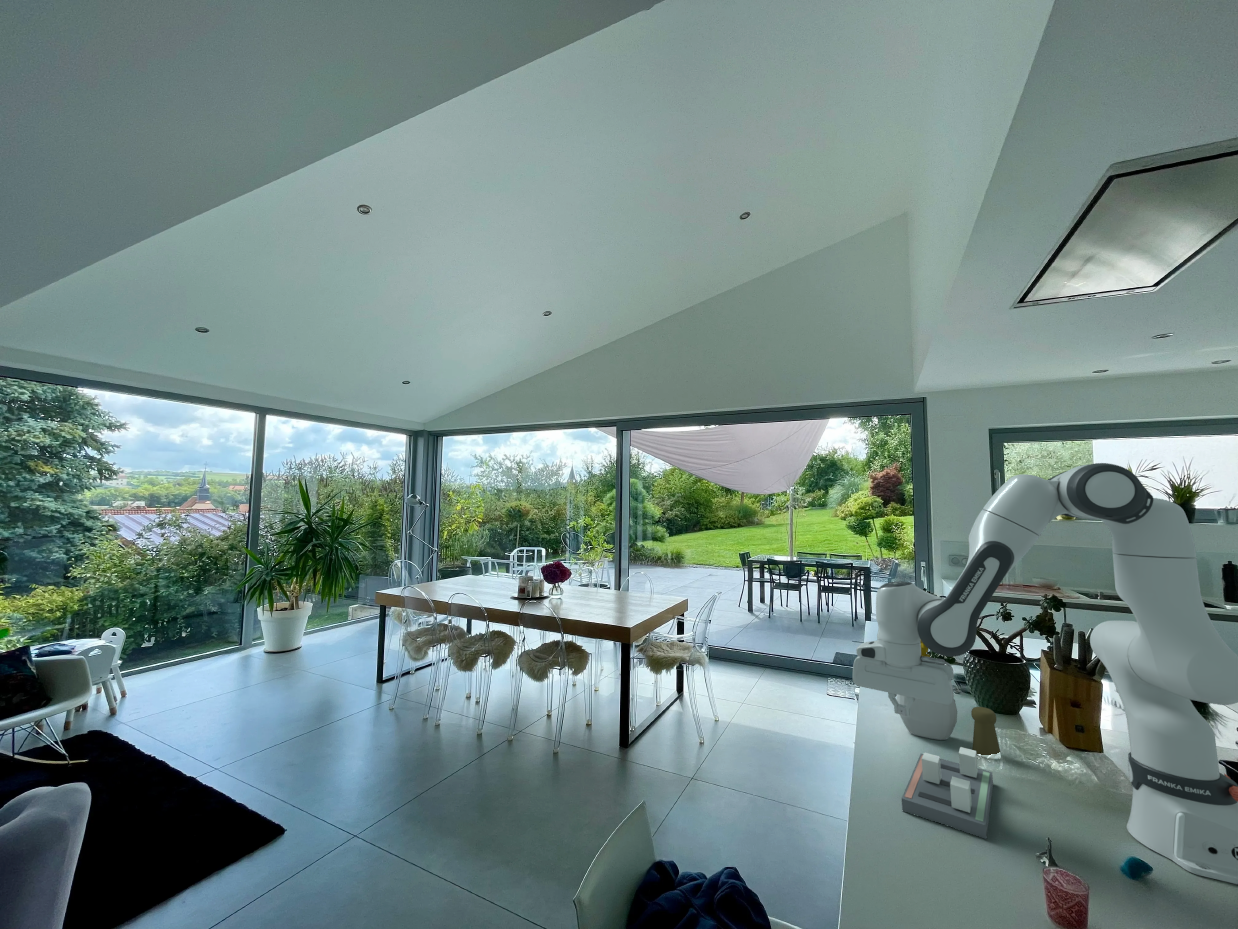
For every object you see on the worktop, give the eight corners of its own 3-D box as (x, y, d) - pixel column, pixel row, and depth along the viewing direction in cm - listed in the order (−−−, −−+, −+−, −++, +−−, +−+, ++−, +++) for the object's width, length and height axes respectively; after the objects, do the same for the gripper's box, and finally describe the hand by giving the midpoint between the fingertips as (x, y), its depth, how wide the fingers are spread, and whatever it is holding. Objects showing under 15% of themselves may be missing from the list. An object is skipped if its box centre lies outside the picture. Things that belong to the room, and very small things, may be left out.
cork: (1007, 760, 121) (1003, 714, 122) (979, 758, 122) (975, 712, 123) (993, 749, 127) (990, 704, 128) (967, 747, 128) (964, 703, 129)
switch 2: (971, 804, 99) (969, 781, 99) (970, 813, 96) (968, 789, 97) (953, 799, 101) (952, 776, 101) (951, 807, 98) (950, 784, 99)
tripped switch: (941, 777, 109) (939, 756, 109) (939, 784, 106) (937, 763, 107) (925, 772, 111) (924, 752, 111) (923, 779, 108) (921, 758, 109)
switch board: (993, 783, 111) (992, 771, 111) (986, 839, 93) (985, 824, 93) (921, 764, 120) (920, 753, 120) (902, 811, 102) (901, 797, 102)
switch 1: (977, 771, 111) (976, 750, 112) (976, 778, 108) (974, 757, 109) (961, 767, 113) (960, 747, 114) (960, 773, 110) (958, 753, 111)
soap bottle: (898, 737, 134) (891, 639, 137) (898, 724, 142) (892, 632, 144) (961, 749, 127) (953, 645, 129) (958, 735, 135) (951, 638, 137)
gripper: (954, 657, 110) (958, 721, 109) (856, 642, 123) (858, 699, 122) (951, 664, 105) (955, 731, 104) (849, 647, 118) (851, 707, 117)
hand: (902, 714), depth 113 cm, fingers closed
